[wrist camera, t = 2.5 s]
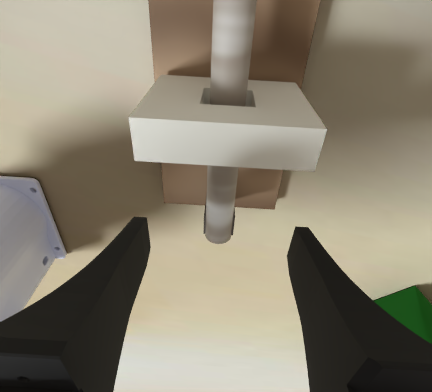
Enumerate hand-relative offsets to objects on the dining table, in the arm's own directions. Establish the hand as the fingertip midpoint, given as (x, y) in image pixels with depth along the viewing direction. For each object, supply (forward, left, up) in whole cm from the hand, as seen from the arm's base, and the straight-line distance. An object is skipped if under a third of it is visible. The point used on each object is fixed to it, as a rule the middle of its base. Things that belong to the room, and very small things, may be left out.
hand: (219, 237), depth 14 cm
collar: (+5, 0, -8) cm, 9 cm away
